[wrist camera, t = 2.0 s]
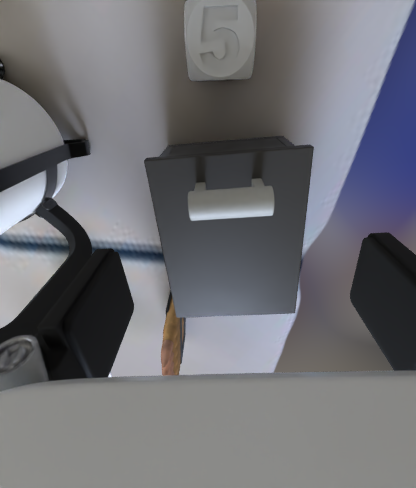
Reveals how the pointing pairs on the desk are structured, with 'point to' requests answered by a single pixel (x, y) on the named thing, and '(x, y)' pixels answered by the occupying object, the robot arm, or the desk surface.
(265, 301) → the lid
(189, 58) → the die
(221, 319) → the desk surface
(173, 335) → the ammunition clip
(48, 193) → the coffee press
